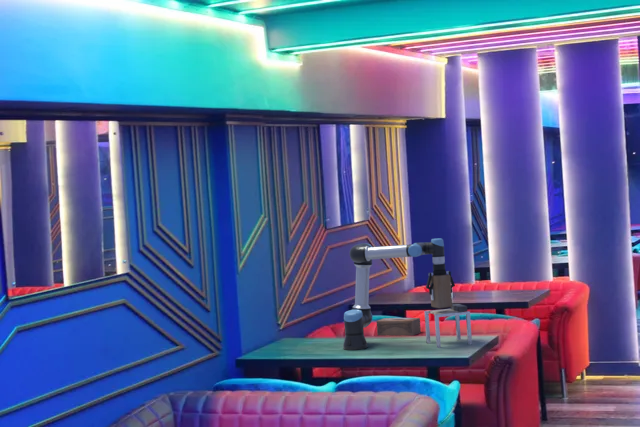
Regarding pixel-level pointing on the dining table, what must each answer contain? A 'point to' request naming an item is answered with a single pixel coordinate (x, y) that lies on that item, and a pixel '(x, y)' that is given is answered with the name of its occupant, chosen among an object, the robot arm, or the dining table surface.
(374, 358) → the dining table surface
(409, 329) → the tissue box cover
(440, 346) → the frame
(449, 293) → the block
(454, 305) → the trapdoor
